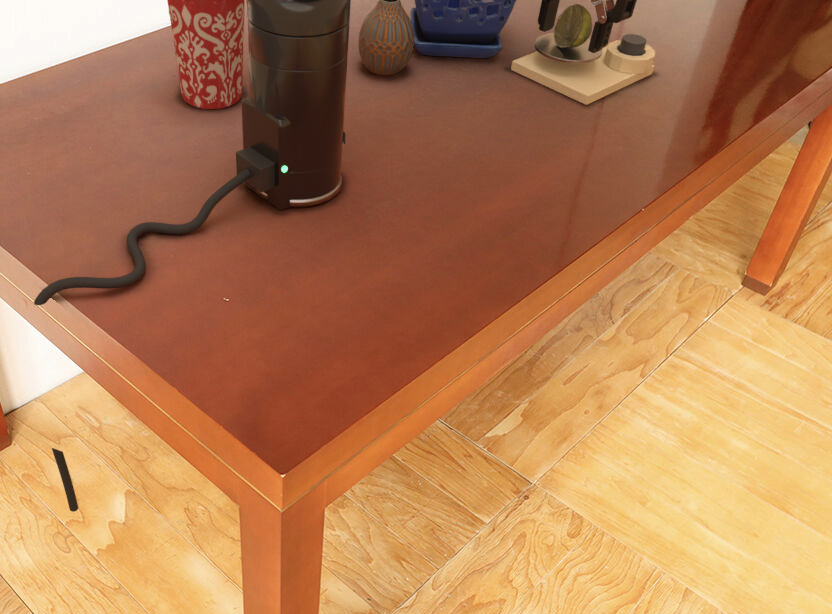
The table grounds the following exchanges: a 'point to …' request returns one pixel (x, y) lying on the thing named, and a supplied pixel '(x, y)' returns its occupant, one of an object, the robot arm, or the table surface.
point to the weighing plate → (565, 51)
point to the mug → (209, 50)
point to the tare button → (632, 45)
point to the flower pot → (459, 27)
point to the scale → (587, 72)
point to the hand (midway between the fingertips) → (570, 39)
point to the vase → (386, 38)
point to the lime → (573, 27)
